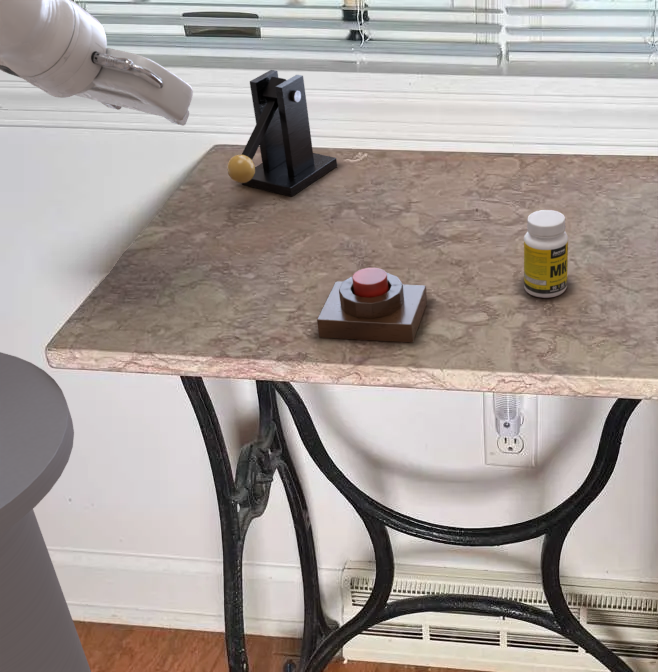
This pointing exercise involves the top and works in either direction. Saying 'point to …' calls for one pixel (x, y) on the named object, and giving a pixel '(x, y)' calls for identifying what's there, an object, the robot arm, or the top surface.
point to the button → (370, 282)
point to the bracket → (286, 140)
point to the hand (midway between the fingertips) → (149, 110)
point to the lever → (255, 137)
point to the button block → (373, 312)
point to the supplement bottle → (545, 254)
